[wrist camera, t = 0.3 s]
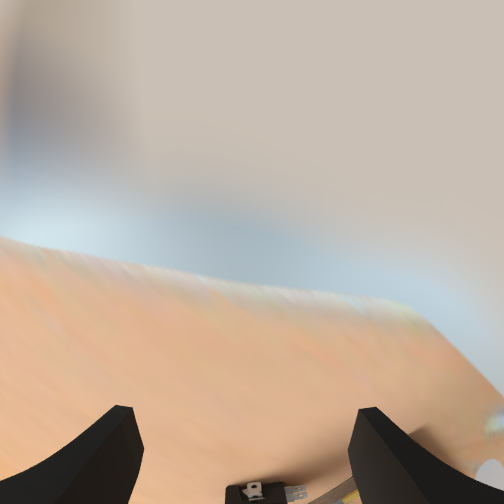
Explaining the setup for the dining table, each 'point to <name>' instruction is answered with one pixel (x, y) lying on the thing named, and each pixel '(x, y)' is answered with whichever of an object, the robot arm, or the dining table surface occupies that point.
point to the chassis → (341, 493)
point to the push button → (263, 494)
